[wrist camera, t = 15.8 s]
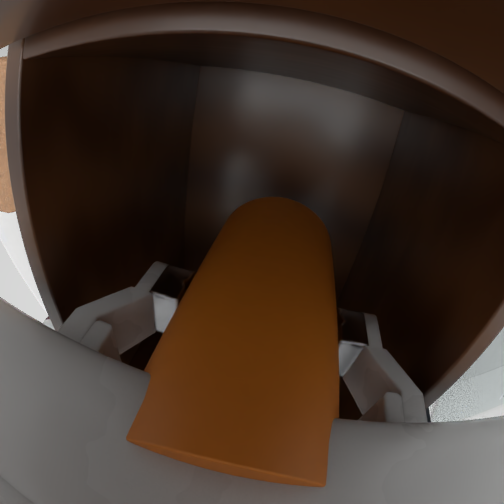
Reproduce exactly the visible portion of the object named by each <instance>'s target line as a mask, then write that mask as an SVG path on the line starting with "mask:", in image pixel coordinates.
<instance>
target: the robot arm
mask: <svg viewBox="0 0 504 504" xmlns="http://www.w3.org/2000/svg"><path fill="white" fill-rule="evenodd" d="M195 274H196V273H195V272H193V271H190V270H186V269H183V268H180V267H176V266H173V265H169V264H166V263H162V262H159V261H156V262H154V263H153V264H152V266H151V267H150V268H149V269H148V271H147V272H146V273H145V275H144V276H143V277H142V278H141V280H140V281H139V282H138V284H137V285H136V286H135V287H132V286H131V287H128V288H126V289H123V290H121V291H118V292H116V293H113V294H111V295H108V296H106V297H103V298H100V299H98V300H95V301H93V302H90V303H88V304H85V305H83V306H80V307H78V308H76V309H75V310H74V311H73V313H72V314H71V315H70V316H69V317H68V319H67V320H66V321H65V322H64V324H63V325H62V326H61V327H60V329H59V330H58V331H55V330H53V329H52V328H50V327H48V326H46V325H44V324H43V323H41V322H39V321H37V320H35V319H34V318H32V317H31V316H29V315H27V314H26V313H24V312H22V311H21V310H19V309H18V308H16V307H14V306H13V305H11V304H10V303H8V302H7V301H5V300H4V299H2V298H1V297H0V504H504V416H498V417H491V418H484V419H475V420H464V421H450V422H427V415H426V409H425V403H424V397H423V393H422V392H421V391H420V390H419V388H418V387H417V386H416V385H415V383H414V382H413V381H412V380H411V379H410V377H409V376H408V375H407V374H406V372H405V371H404V370H403V369H402V368H401V366H400V365H399V364H398V363H397V361H396V360H395V359H394V358H393V357H392V355H391V354H390V353H389V352H388V351H387V349H383V347H382V341H381V336H380V331H379V326H378V321H377V317H376V315H374V314H369V313H364V312H357V311H352V310H348V309H343V308H338V307H337V324H338V347H339V376H341V377H343V380H344V382H345V384H346V385H347V387H348V389H349V391H350V393H351V395H352V396H353V398H354V400H355V402H356V404H357V406H358V408H359V409H360V411H361V413H362V415H363V416H362V417H360V418H359V419H358V420H350V419H340V418H335V419H334V420H333V422H332V427H331V433H330V439H329V450H328V465H327V478H326V485H325V487H310V486H298V485H289V484H280V483H273V482H266V481H260V480H254V479H249V478H244V477H239V476H234V475H229V474H225V473H221V472H217V471H213V470H209V469H205V468H202V467H198V466H195V465H191V464H188V463H185V462H181V461H178V460H175V459H172V458H169V457H167V456H164V455H161V454H158V453H155V452H153V451H150V450H148V449H145V448H143V447H140V446H138V445H135V444H133V443H131V442H129V441H127V440H126V436H127V434H128V432H129V430H130V428H131V426H132V423H133V421H134V419H135V417H136V415H137V413H138V411H139V409H140V407H141V405H142V402H143V400H144V398H145V395H146V392H147V388H148V385H149V382H150V378H151V376H150V374H149V373H148V372H145V371H142V370H140V369H137V368H135V367H132V366H130V365H127V364H125V363H122V361H121V358H120V354H122V353H123V352H125V351H127V350H128V349H130V348H131V347H133V346H134V345H136V344H138V343H139V342H141V341H142V340H144V339H146V338H147V337H149V336H150V335H152V334H153V333H155V332H156V331H158V332H162V333H164V331H165V329H166V327H167V325H168V324H169V322H170V320H171V318H172V316H173V314H174V312H175V311H176V309H177V307H178V305H179V303H180V301H181V300H182V298H183V296H184V294H185V292H186V291H187V289H188V287H189V285H190V283H191V282H192V280H193V278H194V276H195Z"/></svg>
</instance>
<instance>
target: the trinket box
mask: <svg viewBox="0 0 504 504" xmlns="http://www.w3.org/2000/svg"><path fill="white" fill-rule="evenodd" d="M6 66H7V56H6V57H0V211H1V212H7V213H10V212H15V211H16V209H15V204H14V199H13V194H12V188H11V181H10V174H9V167H8V158H7V147H6V133H5V80H6Z"/></svg>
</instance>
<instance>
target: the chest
mask: <svg viewBox="0 0 504 504" xmlns="http://www.w3.org/2000/svg"><path fill="white" fill-rule="evenodd" d="M5 133H6V147H7V158H8V167H9V174H10V181H11V188H12V194H13V199H14V204H15V209H16V214H17V219H18V223H19V227H20V231H21V235H22V239H23V243H24V247H25V250H26V254H27V257H28V260H29V263H30V267H31V270H32V273H33V276H34V279H35V282H36V284H37V287H38V290H39V293H40V295H41V298H42V301H43V303H44V306H45V308H46V311H47V313H48V315H49V318H50V320H51V322H52V325H53V327H54V329H55V331H58V330H59V329H60V327H61V326H62V325H63V324H64V322H65V321H66V320H67V319H68V317H69V316H70V315H71V314H72V313H73V311H74V310H75V309H76V308H78V307H80V306H83V305H85V304H88V303H90V302H93V301H95V300H98V299H100V298H103V297H106V296H108V295H111V294H113V293H116V292H118V291H121V290H123V289H126V288H128V287H131V286H132V287H135V286H136V285H137V284H138V282H139V281H140V280H141V278H142V277H143V276H144V275H145V273H146V272H147V271H148V269H149V268H150V267H151V266H152V264H153V263H154V262H156V261H159V262H162V263H166V264H169V265H173V266H176V267H180V268H183V269H186V270H190V271H193V272H195V273H197V271H198V269H199V267H200V266H201V264H202V262H203V260H204V259H205V257H206V255H207V253H208V252H209V250H210V248H211V246H212V245H213V243H214V241H215V239H216V238H217V236H218V234H219V233H220V231H221V229H222V227H223V226H224V224H225V222H226V221H227V219H228V218H229V216H230V215H231V214H232V213H233V212H234V211H235V210H236V209H237V208H238V207H240V206H241V205H243V204H245V203H247V202H249V201H251V200H254V199H258V198H263V197H282V198H288V199H291V200H294V201H297V202H299V203H301V204H303V205H305V206H306V207H308V208H309V209H311V210H312V211H313V212H314V213H316V215H317V216H318V217H319V218H320V219H321V220H322V222H323V223H324V225H325V226H326V228H327V230H328V233H329V236H330V241H331V248H332V258H333V268H334V280H335V292H336V307H338V308H343V309H348V310H352V311H357V312H364V313H369V314H374V315H376V317H377V321H378V326H379V331H380V336H381V341H382V347H383V349H387V351H388V352H389V353H390V354H391V355H392V357H393V358H394V359H395V360H396V361H397V363H398V364H399V365H400V366H401V368H402V369H403V370H404V371H405V372H406V374H407V375H408V376H409V377H410V379H411V380H412V381H413V382H414V383H415V385H416V386H417V387H418V388H419V390H420V391H421V392H422V393H423V397H424V403H425V409H427V408H428V407H429V406H430V405H431V404H433V403H434V402H435V401H436V400H437V399H438V398H439V397H440V396H441V395H442V394H444V393H445V392H446V391H447V390H448V389H449V388H450V387H451V386H452V385H453V384H454V383H455V382H456V381H457V380H458V379H459V378H460V377H461V376H462V375H463V374H464V373H465V372H466V371H467V370H468V369H469V368H470V366H471V365H472V364H473V363H474V362H475V361H476V360H477V359H478V358H479V356H480V355H481V354H482V353H483V352H484V351H485V350H486V348H487V347H488V346H489V345H490V344H491V342H492V341H493V340H494V339H495V337H496V336H497V335H498V334H499V332H500V331H501V330H502V328H503V327H504V93H502V92H501V91H500V90H498V89H497V88H495V87H494V86H492V85H491V84H489V83H488V82H486V81H485V80H483V79H481V78H480V77H478V76H477V75H475V74H473V73H472V72H470V71H468V70H467V69H465V68H463V67H461V66H460V65H458V64H456V63H454V62H452V61H451V60H449V59H447V58H445V57H443V56H441V55H439V54H437V53H435V52H433V51H431V50H429V49H426V48H424V47H422V46H420V45H418V44H415V43H413V42H411V41H408V40H406V39H403V38H401V37H398V36H396V35H393V34H390V33H388V32H385V31H382V30H379V29H376V28H373V27H370V26H367V25H364V24H361V23H357V22H354V21H350V20H347V19H343V18H339V17H335V16H331V15H327V14H323V13H318V12H313V11H308V10H303V9H297V8H291V7H284V6H277V5H269V4H259V3H247V2H228V1H193V2H174V3H162V4H153V5H145V6H137V7H131V8H125V9H119V10H114V11H109V12H105V13H100V14H96V15H92V16H88V17H84V18H80V19H77V20H73V21H70V22H66V23H63V24H60V25H57V26H54V27H51V28H48V29H46V30H43V31H40V32H38V33H35V34H32V35H30V36H28V37H25V38H23V39H20V40H18V41H16V42H14V43H11V44H9V48H8V56H7V66H6V80H5ZM162 335H163V333H162V332H158V331H156V332H155V333H153V334H152V335H150V336H149V337H147V338H146V339H144V340H142V341H141V342H139V343H138V344H136V345H134V346H133V347H131V348H130V349H128V350H127V351H125V352H123V353H122V354H120V358H121V361H122V363H125V364H127V365H130V366H132V367H135V368H137V369H140V370H142V371H144V369H145V367H146V365H147V363H148V362H149V360H150V358H151V356H152V354H153V352H154V350H155V348H156V346H157V344H158V342H159V340H160V339H161V337H162ZM362 416H363V415H362V413H361V411H360V409H359V408H358V406H357V404H356V402H355V400H354V398H353V396H352V395H351V393H350V391H349V389H348V387H347V385H346V384H345V382H344V380H343V377H341V376H339V418H340V419H350V420H358V419H359V418H360V417H362Z"/></svg>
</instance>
